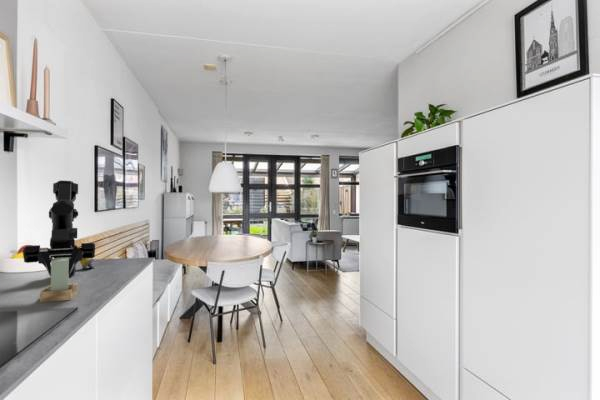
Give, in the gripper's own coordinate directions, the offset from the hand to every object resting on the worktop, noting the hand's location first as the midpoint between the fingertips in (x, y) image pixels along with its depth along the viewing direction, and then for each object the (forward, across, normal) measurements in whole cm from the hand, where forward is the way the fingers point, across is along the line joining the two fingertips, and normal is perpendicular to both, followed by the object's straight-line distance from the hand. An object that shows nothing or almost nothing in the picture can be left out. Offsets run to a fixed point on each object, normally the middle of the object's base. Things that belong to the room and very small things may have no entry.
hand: (59, 274), depth 100 cm
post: (+4, 0, +6) cm, 7 cm away
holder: (+4, 0, +6) cm, 8 cm away
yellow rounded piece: (-24, +7, +36) cm, 44 cm away
